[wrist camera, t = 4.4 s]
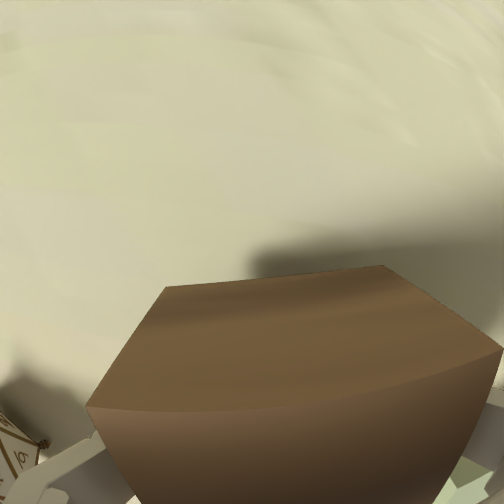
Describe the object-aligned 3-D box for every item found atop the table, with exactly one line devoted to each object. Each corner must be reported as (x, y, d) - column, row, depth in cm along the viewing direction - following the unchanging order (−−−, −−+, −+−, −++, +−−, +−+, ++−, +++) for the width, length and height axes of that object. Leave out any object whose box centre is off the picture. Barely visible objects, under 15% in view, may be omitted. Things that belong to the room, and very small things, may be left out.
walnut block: (165, 287, 8) (84, 405, 3) (382, 264, 8) (504, 348, 3) (202, 441, 9) (188, 560, 5) (367, 421, 9) (415, 526, 5)
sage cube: (414, 422, 12) (457, 488, 7) (483, 397, 12) (530, 445, 7) (393, 478, 13) (420, 537, 8) (458, 454, 13) (491, 502, 8)
